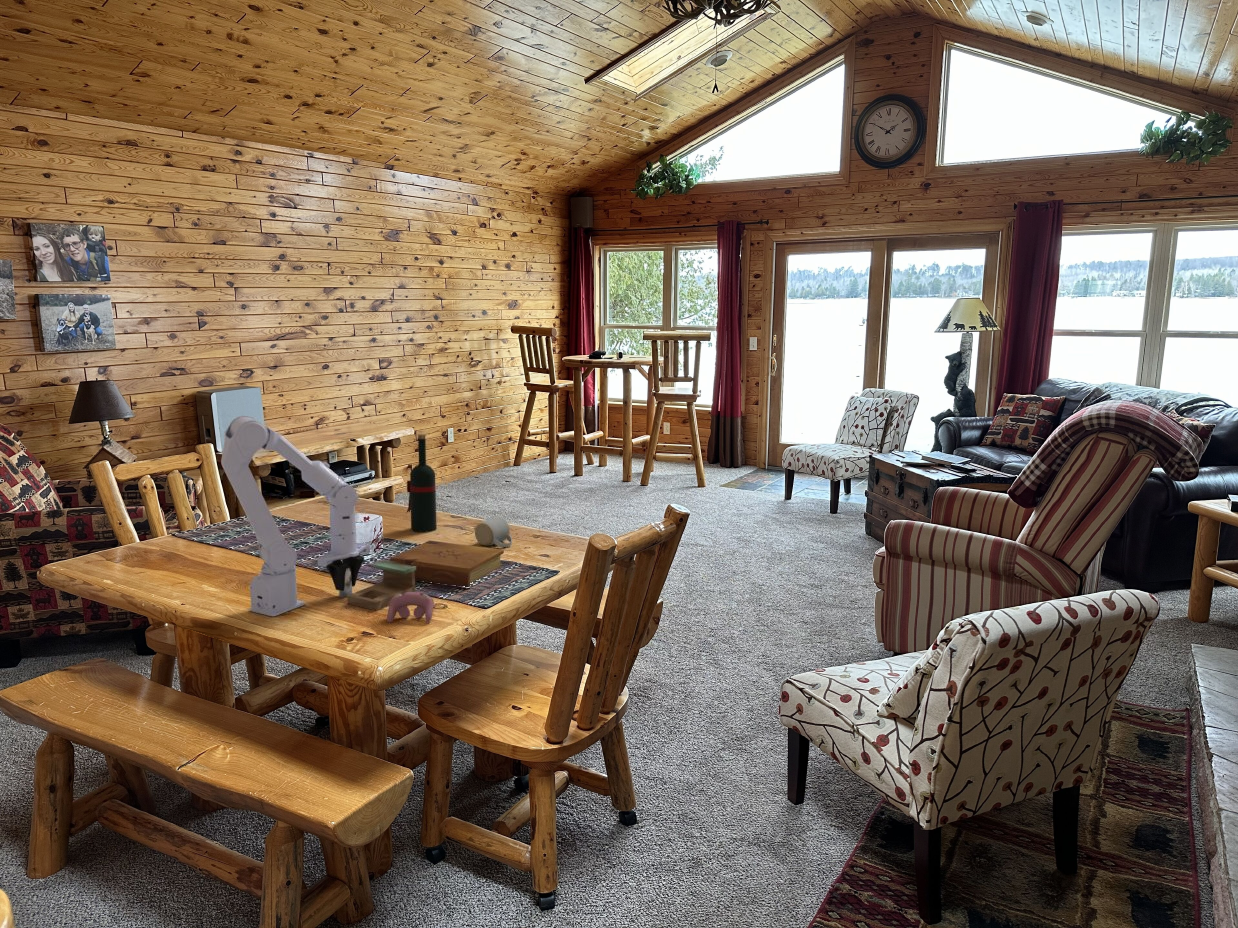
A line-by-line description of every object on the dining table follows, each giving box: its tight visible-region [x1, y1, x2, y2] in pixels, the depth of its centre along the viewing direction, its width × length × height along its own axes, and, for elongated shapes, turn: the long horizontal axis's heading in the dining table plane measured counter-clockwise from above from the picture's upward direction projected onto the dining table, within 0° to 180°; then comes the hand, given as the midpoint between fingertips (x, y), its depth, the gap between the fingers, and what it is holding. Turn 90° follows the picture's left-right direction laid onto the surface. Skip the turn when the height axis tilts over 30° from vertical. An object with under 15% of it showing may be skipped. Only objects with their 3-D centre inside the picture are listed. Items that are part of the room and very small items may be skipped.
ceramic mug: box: [474, 515, 513, 548], centre depth 239 cm, size 11×8×8 cm
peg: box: [338, 566, 353, 599], centre depth 193 cm, size 3×3×7 cm
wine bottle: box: [405, 433, 438, 533], centre depth 253 cm, size 8×10×30 cm
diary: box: [389, 540, 505, 587], centre depth 212 cm, size 23×19×6 cm
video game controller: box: [386, 591, 435, 624], centre depth 180 cm, size 10×5×7 cm, turn 92°
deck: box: [346, 559, 416, 611], centre depth 192 cm, size 13×10×7 cm
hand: (345, 587), depth 194 cm, fingers closed on peg, 3 cm apart
